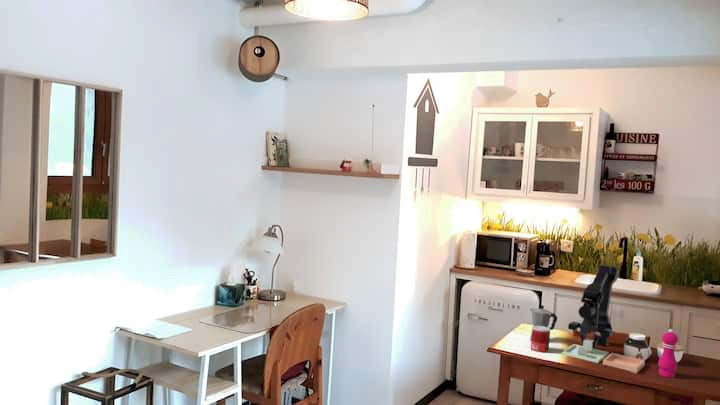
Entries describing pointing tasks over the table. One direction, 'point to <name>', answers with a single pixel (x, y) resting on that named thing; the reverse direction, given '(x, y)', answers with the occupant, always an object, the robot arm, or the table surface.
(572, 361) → the table surface
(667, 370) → the pepper mill
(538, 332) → the canned food
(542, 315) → the coffeepot
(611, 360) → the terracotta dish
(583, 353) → the grey cube
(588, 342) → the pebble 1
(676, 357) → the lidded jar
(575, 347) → the green tray
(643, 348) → the spread jar
